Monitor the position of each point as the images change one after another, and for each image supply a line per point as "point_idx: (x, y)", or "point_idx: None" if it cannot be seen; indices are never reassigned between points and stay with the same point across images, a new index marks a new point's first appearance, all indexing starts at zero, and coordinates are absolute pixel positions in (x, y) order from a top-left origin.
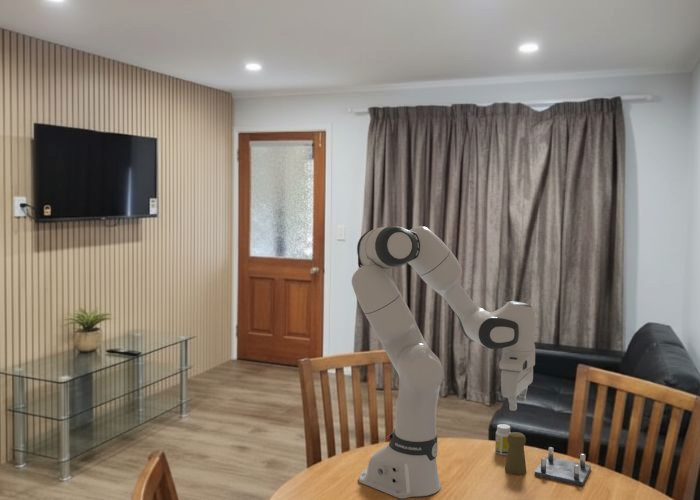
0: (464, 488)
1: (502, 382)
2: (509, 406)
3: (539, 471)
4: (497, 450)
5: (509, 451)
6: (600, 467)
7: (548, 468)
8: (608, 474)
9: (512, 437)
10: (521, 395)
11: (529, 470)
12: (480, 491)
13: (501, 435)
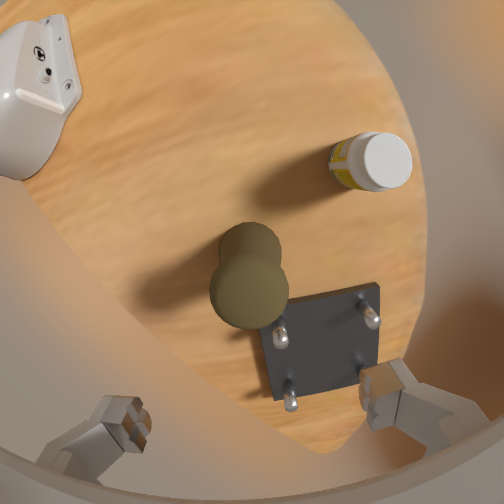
0: (69, 207)
1: None
2: (97, 408)
3: None
4: (332, 152)
5: (223, 260)
6: None
7: (300, 328)
8: None
9: (213, 295)
10: (376, 414)
11: None
12: (82, 243)
13: (350, 164)
